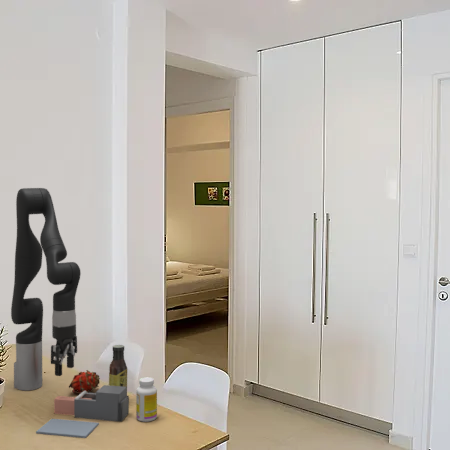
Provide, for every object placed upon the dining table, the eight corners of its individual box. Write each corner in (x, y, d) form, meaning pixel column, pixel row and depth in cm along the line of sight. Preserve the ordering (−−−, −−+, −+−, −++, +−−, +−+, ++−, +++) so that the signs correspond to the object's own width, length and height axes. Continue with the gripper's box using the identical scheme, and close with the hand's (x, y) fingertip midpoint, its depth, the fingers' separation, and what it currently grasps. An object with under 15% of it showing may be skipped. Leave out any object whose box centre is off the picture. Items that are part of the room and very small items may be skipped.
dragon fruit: (103, 393, 211) (71, 405, 204) (93, 375, 216) (63, 386, 209) (105, 380, 206) (74, 391, 199) (96, 362, 211) (65, 372, 204)
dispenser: (74, 417, 185) (74, 390, 184) (83, 409, 191) (83, 383, 191) (121, 421, 182) (121, 394, 181) (128, 413, 189) (128, 386, 188)
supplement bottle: (160, 416, 186) (161, 378, 186) (149, 423, 180) (150, 384, 180) (143, 412, 189) (143, 375, 189) (132, 420, 183) (132, 380, 183)
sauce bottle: (123, 406, 194) (123, 349, 193) (105, 405, 196) (105, 348, 194) (130, 399, 201) (130, 344, 200) (113, 398, 202) (113, 343, 201)
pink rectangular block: (54, 413, 188) (54, 399, 188) (58, 410, 191) (58, 395, 191) (88, 416, 186) (88, 401, 186) (92, 413, 189) (92, 398, 189)
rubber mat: (36, 433, 172) (36, 431, 172) (51, 420, 182) (51, 418, 182) (85, 438, 170) (85, 436, 170) (99, 424, 179) (99, 422, 179)
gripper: (63, 317, 195) (63, 364, 196) (42, 327, 181) (43, 377, 182) (84, 319, 193) (84, 366, 194) (64, 328, 179) (65, 379, 180)
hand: (64, 371), depth 188 cm, fingers open, 8 cm apart
